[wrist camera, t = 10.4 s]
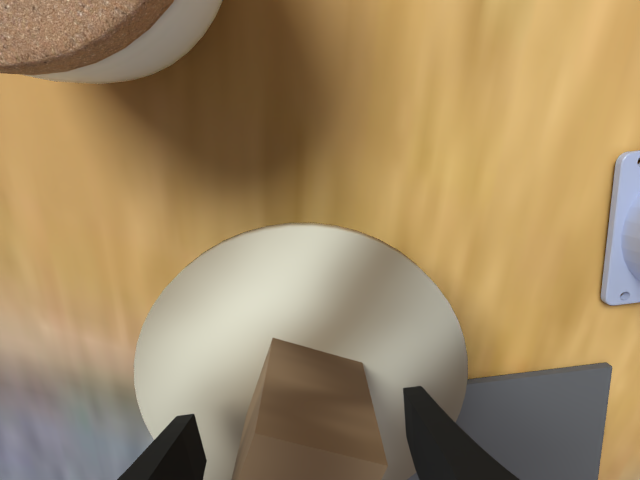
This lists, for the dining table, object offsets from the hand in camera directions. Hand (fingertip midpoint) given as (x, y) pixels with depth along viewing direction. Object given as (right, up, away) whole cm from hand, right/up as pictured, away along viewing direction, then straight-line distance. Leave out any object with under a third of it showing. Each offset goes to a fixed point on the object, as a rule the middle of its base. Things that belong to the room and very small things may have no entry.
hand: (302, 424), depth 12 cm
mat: (+11, -8, +10) cm, 17 cm away
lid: (0, +1, +3) cm, 3 cm away
